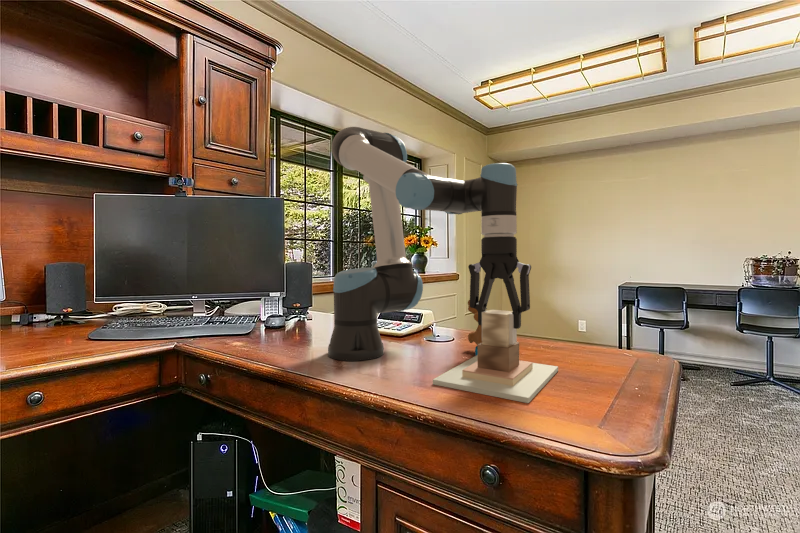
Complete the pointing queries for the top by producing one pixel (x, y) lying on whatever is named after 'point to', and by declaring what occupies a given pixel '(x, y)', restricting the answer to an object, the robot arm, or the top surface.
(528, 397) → the board
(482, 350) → the walnut block
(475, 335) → the toy
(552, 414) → the top surface
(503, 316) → the maple block
